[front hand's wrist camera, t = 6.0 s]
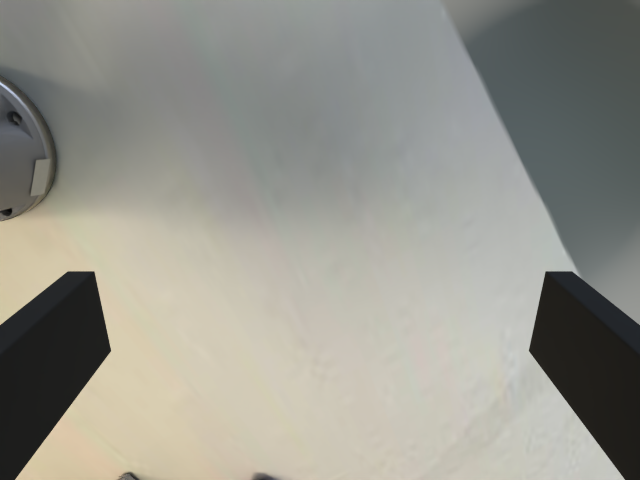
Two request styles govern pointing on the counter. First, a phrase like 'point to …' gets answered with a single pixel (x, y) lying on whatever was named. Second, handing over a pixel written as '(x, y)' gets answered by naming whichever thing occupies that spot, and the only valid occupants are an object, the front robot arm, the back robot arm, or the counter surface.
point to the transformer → (127, 477)
